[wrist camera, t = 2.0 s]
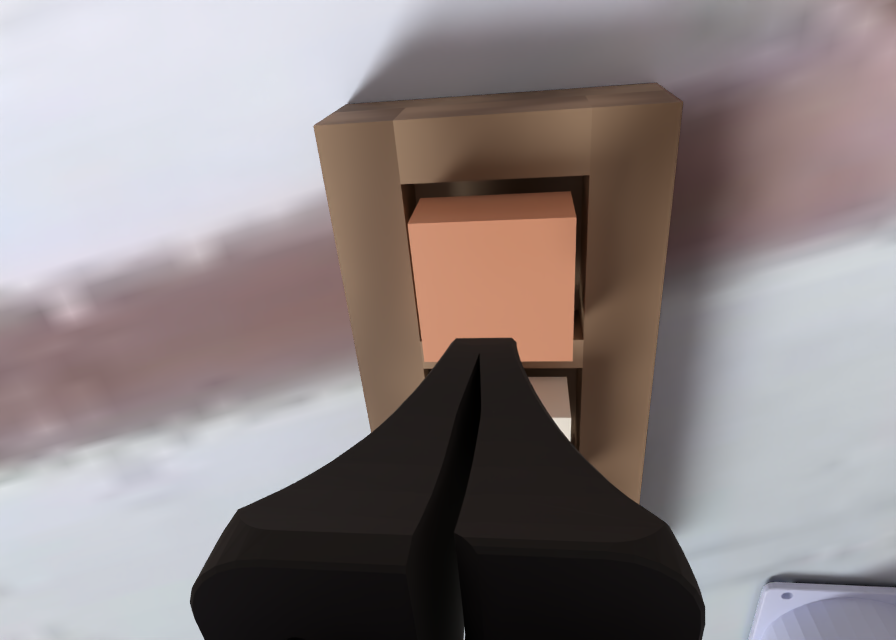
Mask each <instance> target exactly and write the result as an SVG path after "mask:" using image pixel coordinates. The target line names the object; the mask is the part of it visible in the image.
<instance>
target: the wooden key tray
mask: <svg viewBox="0 0 896 640" xmlns="http://www.w3.org/2000/svg"><path fill="white" fill-rule="evenodd" d="M682 108H683V101H681V100H680V99H679V98H677V97H676V96H674V95H673V94H672V93H670V92H669V91H667V90H666V89H665V88H663V87H662V86H661V85H659V84H658V83H646V84H631V85H617V86H602V87H588V88H574V89H559V90H545V91H530V92H516V93H502V94H487V95H473V96H458V97H444V98H429V99H415V100H401V101H386V102H372V103H357V104H346V105H344V106H343V107H341V108H340V109H338V110H337V111H335V112H334V113H332V114H331V115H329V116H327V117H326V118H324V119H323V120H321V121H320V122H318V123H317V124H315V125H314V131H315V137H316V142H317V147H318V153H319V158H320V163H321V169H322V174H323V179H324V185H325V190H326V195H327V200H328V206H329V211H330V216H331V222H332V227H333V232H334V238H335V243H336V248H337V254H338V259H339V264H340V269H341V275H342V280H343V285H344V291H345V296H346V301H347V307H348V312H349V317H350V323H351V328H352V333H353V338H354V344H355V349H356V354H357V360H358V365H359V370H360V376H361V381H362V386H363V392H364V397H365V402H366V407H367V413H368V418H369V423H370V429H371V433H372V432H373V431H374V430H375V429H376V428H378V427H379V426H380V425H381V424H382V423H383V422H384V421H385V420H386V419H387V418H388V417H390V416H391V415H392V414H393V413H394V412H395V411H396V410H397V409H398V408H399V406H400V405H401V404H402V403H403V402H404V401H405V400H406V399H407V398H408V397H409V396H410V395H411V394H412V393H413V392H414V390H415V389H416V388H417V387H418V386H419V385H420V383H421V382H422V381H423V380H424V379H425V377H426V376H427V375H428V374H429V373H430V371H431V370H432V369H433V367H434V366H435V365H436V363H437V362H424V355H423V347H422V339H421V330H420V322H419V314H418V306H417V297H416V289H415V281H414V273H413V265H412V256H411V248H410V240H409V232H408V222H409V220H410V218H411V216H412V214H413V212H414V210H415V208H416V206H417V204H418V202H419V200H420V198H433V197H455V196H477V195H499V194H521V193H543V192H565V191H571V195H572V200H573V204H574V208H575V213H576V254H575V291H574V329H573V361H523V362H522V365H523V367H524V370H525V372H526V374H527V376H528V377H567V384H568V394H569V403H570V412H571V440H570V442H571V443H572V444H573V445H574V447H575V448H576V449H577V450H578V451H579V452H580V453H581V454H582V456H583V457H584V458H585V459H586V460H587V461H588V462H589V463H590V464H592V465H593V466H594V467H595V468H596V469H597V470H598V471H599V472H600V473H601V474H602V475H603V476H604V477H605V478H606V479H607V480H608V481H609V482H610V483H611V484H613V485H614V486H615V487H616V488H617V489H619V490H620V491H621V492H622V493H624V494H625V495H626V496H627V497H629V498H630V499H632V500H633V501H635V502H636V503H638V504H639V502H640V493H641V483H642V474H643V465H644V456H645V447H646V438H647V428H648V419H649V410H650V401H651V392H652V383H653V374H654V364H655V355H656V346H657V337H658V328H659V319H660V309H661V300H662V291H663V282H664V273H665V264H666V255H667V245H668V236H669V227H670V218H671V209H672V200H673V190H674V181H675V172H676V163H677V154H678V145H679V136H680V126H681V117H682Z"/></svg>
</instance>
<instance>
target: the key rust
mask: <svg viewBox="0 0 896 640" xmlns="http://www.w3.org/2000/svg"><path fill="white" fill-rule="evenodd" d="M408 232H409V240H410V248H411V256H412V265H413V273H414V281H415V289H416V297H417V306H418V314H419V322H420V330H421V339H422V347H423V355H424V362H438V361H439V360H440V358H441V357H442V355H443V354H444V353H445V351H446V350H447V348H448V347H449V345H450V344H451V343H452V342H453V341H454V340H455V339H456V338H513V339H514V340H515V341H516V342H517V350H518V354H519V357H520V360H521V362H523V361H573V329H574V291H575V254H576V213H575V208H574V204H573V200H572V195H571V191H565V192H543V193H521V194H499V195H477V196H455V197H433V198H420V200H419V202H418V204H417V206H416V208H415V210H414V212H413V214H412V216H411V218H410V220H409V222H408Z"/></svg>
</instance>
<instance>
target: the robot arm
mask: <svg viewBox="0 0 896 640" xmlns="http://www.w3.org/2000/svg"><path fill="white" fill-rule="evenodd" d="M190 604H191V608H192V612H193V615H194V618H195V620H196V623H197V625H198V627H199V629H200V631H201V633H202V635H203V637H204V639H205V640H463V638H464V627H465V640H702V636H703V631H704V627H705V605H704V602H703V598H702V595H701V592H700V589H699V586H698V584H697V581H696V579H695V576H694V574H693V572H692V569H691V567H690V565H689V563H688V561H687V559H686V557H685V555H684V553H683V550H682V549H681V547H680V545H679V543H678V541H677V539H676V537H675V536H674V534H673V532H672V530H671V529H670V527H669V525H668V524H667V523H665V522H664V521H662V520H661V519H659V518H658V517H657V516H655V515H654V514H652V513H651V512H649V511H648V510H646V509H645V508H643V507H642V506H640V505H639V504H638V503H636V502H635V501H633V500H632V499H630V498H629V497H627V496H626V495H625V494H624V493H622V492H621V491H620V490H619V489H617V488H616V487H615V486H614V485H613V484H611V483H610V482H609V481H608V480H607V479H606V478H605V477H604V476H603V475H602V474H601V473H600V472H599V471H598V470H597V469H596V468H595V467H594V466H593V465H592V464H590V463H589V462H588V461H587V460H586V459H585V458H584V457H583V456H582V454H581V453H580V452H579V451H578V450H577V449H576V448H575V447H574V445H573V444H572V443H571V442H570V441H569V440H568V438H567V437H566V436H565V435H564V433H563V432H562V431H561V430H560V428H559V427H558V426H557V424H556V423H555V422H554V420H553V419H552V417H551V416H550V414H549V413H548V411H547V410H546V408H545V407H544V405H543V404H542V402H541V400H540V399H539V397H538V395H537V394H536V392H535V390H534V388H533V386H532V384H531V382H530V380H529V378H528V376H527V374H526V372H525V370H524V367H523V365H522V362H521V360H520V357H519V354H518V350H517V342H516V341H515V340H514V339H513V338H456V339H455V340H454V341H453V342H452V343H451V344H450V345H449V347H448V348H447V350H446V351H445V353H444V354H443V355H442V357H441V358H440V360H439V361H438V362H437V363H436V365H435V366H434V367H433V369H432V370H431V371H430V373H429V374H428V375H427V376H426V377H425V379H424V380H423V381H422V382H421V383H420V385H419V386H418V387H417V388H416V389H415V390H414V392H413V393H412V394H411V395H410V396H409V397H408V398H407V399H406V400H405V401H404V402H403V403H402V404H401V405H400V406H399V408H398V409H397V410H396V411H395V412H394V413H393V414H392V415H391V416H390V417H388V418H387V419H386V420H385V421H384V422H383V423H382V424H381V425H380V426H379V427H378V428H376V429H375V430H374V431H373V432H372V433H370V434H369V435H368V436H367V437H365V438H364V439H363V440H361V441H360V442H359V443H357V444H356V445H354V446H353V447H352V448H350V449H349V450H347V451H346V452H344V453H343V454H342V455H340V456H339V457H337V458H336V459H335V460H333V461H331V462H330V463H328V464H327V465H325V466H323V467H322V468H320V469H318V470H317V471H315V472H313V473H312V474H310V475H308V476H306V477H305V478H303V479H301V480H299V481H297V482H296V483H294V484H292V485H290V486H288V487H286V488H284V489H282V490H280V491H278V492H275V493H273V494H271V495H269V496H267V497H265V498H263V499H260V500H258V501H256V502H254V503H252V504H250V505H247V506H245V507H243V508H240V509H238V510H237V512H236V513H235V515H234V516H233V518H232V519H231V521H230V522H229V524H228V525H227V527H226V528H225V530H224V531H223V533H222V535H221V536H220V538H219V540H218V542H217V543H216V545H215V547H214V549H213V551H212V552H211V554H210V556H209V558H208V560H207V561H206V563H205V565H204V567H203V569H202V571H201V572H200V574H199V576H198V578H197V580H196V581H195V583H194V585H193V587H192V591H191V598H190ZM748 640H896V587H876V586H853V585H831V584H808V583H786V582H770V583H767V584H766V585H764V587H763V588H762V592H761V595H760V599H759V602H758V606H757V609H756V613H755V617H754V620H753V624H752V627H751V631H750V634H749V638H748Z"/></svg>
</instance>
